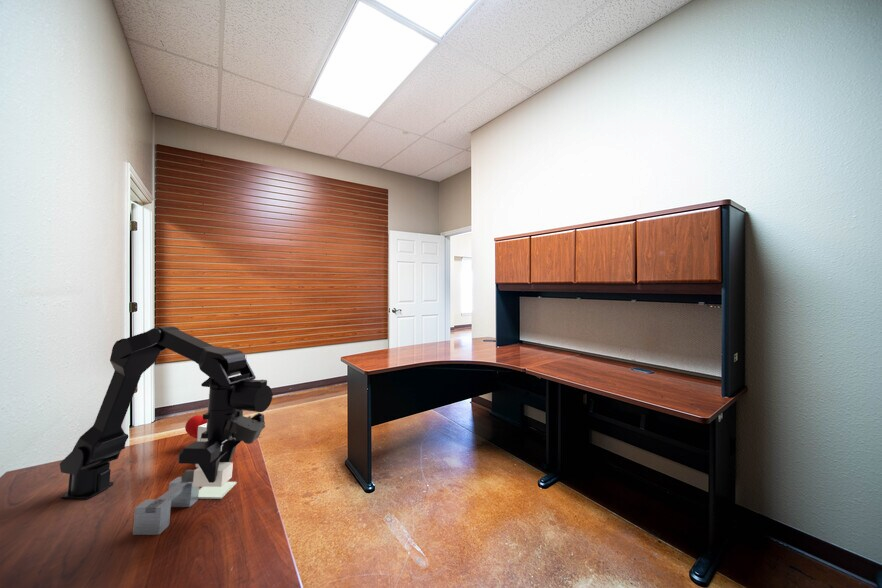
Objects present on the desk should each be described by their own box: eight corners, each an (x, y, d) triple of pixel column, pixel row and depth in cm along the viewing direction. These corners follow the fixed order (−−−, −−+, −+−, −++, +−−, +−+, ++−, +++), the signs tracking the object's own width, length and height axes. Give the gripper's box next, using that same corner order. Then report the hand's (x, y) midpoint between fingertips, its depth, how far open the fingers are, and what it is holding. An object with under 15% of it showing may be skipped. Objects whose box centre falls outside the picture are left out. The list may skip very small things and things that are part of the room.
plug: (178, 486, 71) (179, 470, 71) (191, 476, 75) (192, 461, 75) (221, 486, 71) (222, 471, 72) (231, 477, 75) (232, 462, 76)
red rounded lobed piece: (179, 453, 101) (182, 420, 101) (187, 443, 107) (189, 413, 108) (215, 449, 105) (218, 417, 105) (220, 440, 111) (222, 411, 111)
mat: (190, 498, 79) (190, 496, 79) (209, 482, 86) (209, 481, 86) (220, 498, 79) (221, 497, 79) (236, 483, 86) (236, 481, 86)
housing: (132, 534, 66) (135, 507, 66) (176, 499, 78) (178, 476, 78) (158, 534, 66) (161, 507, 67) (198, 499, 78) (199, 477, 79)
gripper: (237, 422, 65) (231, 502, 65) (277, 396, 84) (273, 458, 83) (179, 421, 64) (172, 501, 64) (232, 395, 83) (227, 457, 82)
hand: (217, 477), depth 73 cm, fingers closed on plug, 4 cm apart
